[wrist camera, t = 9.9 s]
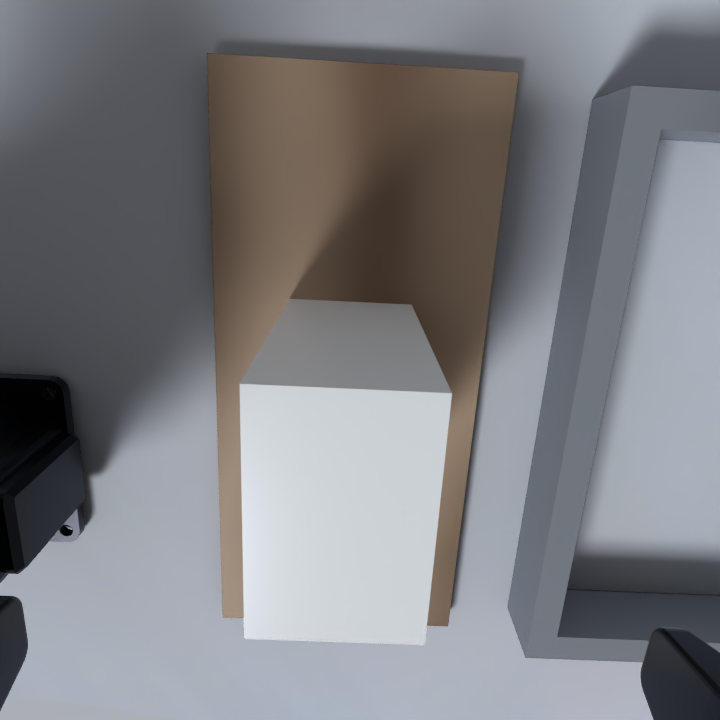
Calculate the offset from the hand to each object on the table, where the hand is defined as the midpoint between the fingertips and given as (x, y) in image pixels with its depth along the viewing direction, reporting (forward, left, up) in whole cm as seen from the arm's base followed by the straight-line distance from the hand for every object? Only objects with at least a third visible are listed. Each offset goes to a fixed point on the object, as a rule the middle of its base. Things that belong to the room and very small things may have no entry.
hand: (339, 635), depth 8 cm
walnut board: (0, -1, -12) cm, 12 cm away
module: (0, -1, -11) cm, 11 cm away
